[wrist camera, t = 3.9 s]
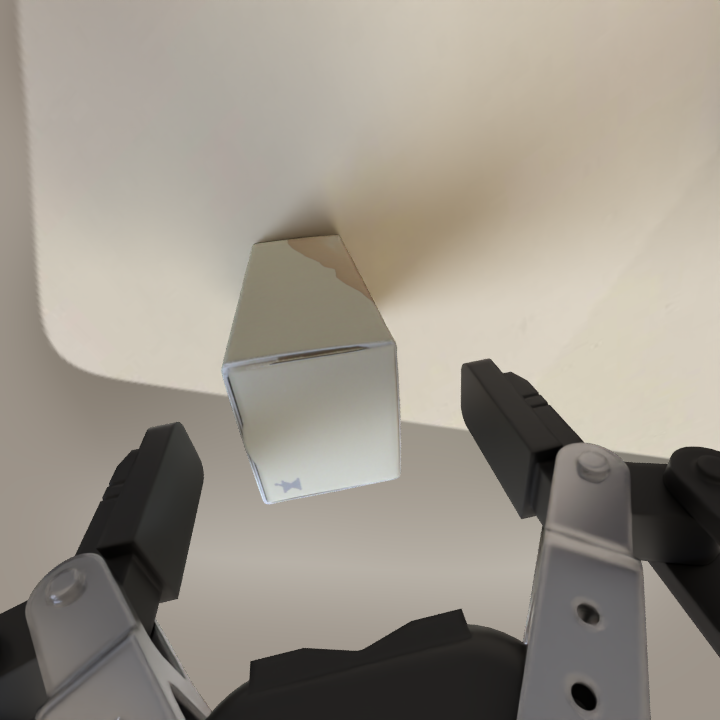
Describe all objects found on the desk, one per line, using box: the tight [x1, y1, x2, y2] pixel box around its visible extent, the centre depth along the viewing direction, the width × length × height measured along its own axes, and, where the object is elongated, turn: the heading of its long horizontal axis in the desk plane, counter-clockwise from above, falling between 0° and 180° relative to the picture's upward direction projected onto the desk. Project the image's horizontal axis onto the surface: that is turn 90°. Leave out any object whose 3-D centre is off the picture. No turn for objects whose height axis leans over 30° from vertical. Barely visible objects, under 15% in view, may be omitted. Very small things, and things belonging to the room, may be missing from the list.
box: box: [221, 235, 401, 504], centre depth 15 cm, size 5×4×11 cm
